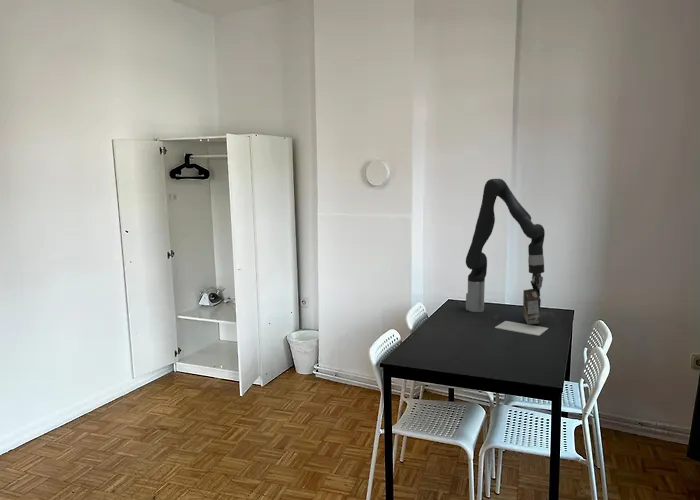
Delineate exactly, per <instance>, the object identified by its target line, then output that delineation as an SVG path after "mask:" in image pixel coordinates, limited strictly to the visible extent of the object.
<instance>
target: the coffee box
mask: <svg viewBox="0 0 700 500" xmlns="http://www.w3.org/2000/svg"><path fill="white" fill-rule="evenodd" d="M522 297H523V298H522V299H523V300H522V301H523V303H522V306H523V307H522V313H523V314H522V315H523V316H524V320H525V322H526V324H527V325H533V324H534V325H535V324H536V325H537V324H539V323H540V317H541V316H540V315H541V303H542V301H541V296H540V297H539V295H538V292H537V290H536V289H533V288H529V289H523V296H522Z"/></svg>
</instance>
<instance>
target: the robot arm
mask: <svg viewBox="0 0 700 500" xmlns="http://www.w3.org/2000/svg"><path fill="white" fill-rule="evenodd" d="M498 197H499V198H500V199H501V200H502V201H503V202H504V203H505V205H506V206H507V210H508V212H509V213H510V216H511V217H512V218H513V219H514V220H515V221H516V222H517V223H518V224H519V226H520V228H521V231H522V232H523V234H524V235H525V236H526V237H527V238H528V239H530V243H529V244H528V248H527V250H528V258H527V259H528V264H527V265H528V273H530V274H532V276H531V280H530V284H531V286H532V289H536V290H537V292H538V295H539V297H540V298H541V288H542V287H543V286H542V285H543V281H544V277H543V276H542V274H544V272H545V258H544V242H545V234H546V233H545V231H546V230H545V228H544V226H543V225H542V224H540V223H534V222H532V216H531V214H529V212H528V211H527V210H526V208H524V207H523V206H522V205H521V203H520V202H519V201H518V199H517V198H516V196H515V194H514V193H513V192H512V190H511V189H510V187H509V186H508V184H507V183H506V181H505V180H503V178H491V179H490V178H489V180H487V181H486V182H485V185H484V186H483V193H482V199H481V200H482V201H481V205H480V208H479V211H478V212H479V213H478V216H477V219H476V223H475V226H474V227H475V229H474V231H473V232H474V233H473V235H472V240H471V244H470V246H469V249H468V252H467V254H466V256H465V257H466V258H465V265H466V267H467V268H468V269H469V270H471V272H470V273H469V274H468V276H467V293H465V310H466V311H468V312H471V313H482V312H484V311H485V287H486V286H485V280H486V277H487V273H488V271H487V269H488V257H487V256H486V254H485V253H484V252H483V249H484V246H485V245H486V243H487V242H488V241H489V239H490V236H491V235H492V232H493V230H494V226H495V222H496V216H495V205H496V204H495V203H496V200H497V198H498Z"/></svg>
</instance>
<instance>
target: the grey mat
mask: <svg viewBox="0 0 700 500" xmlns="http://www.w3.org/2000/svg"><path fill="white" fill-rule="evenodd" d="M494 329H498V330H505V331H508V332H509V331H510V332H514V333H515V332H516V333H519V334H520V333H521V334H526V335H531V336H537V337H540V336H541V335H542V334H544V333H545V332H546V331H548V329H549V327H544V326H539V325H533V324H527V323H521V322H516V321H509V320H504V321H503V322H501V323H499V324H498V325H496V326H495V327H494Z"/></svg>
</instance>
